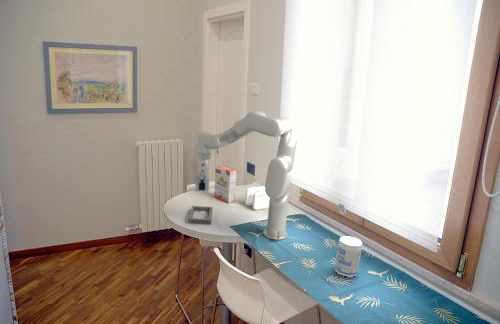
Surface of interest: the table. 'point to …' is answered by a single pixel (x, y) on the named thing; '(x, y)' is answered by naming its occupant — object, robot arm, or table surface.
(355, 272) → the supplement tub
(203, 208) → the grey rectangular frame
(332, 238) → the table surface
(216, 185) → the cracker box
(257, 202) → the cable organizer
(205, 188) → the module
